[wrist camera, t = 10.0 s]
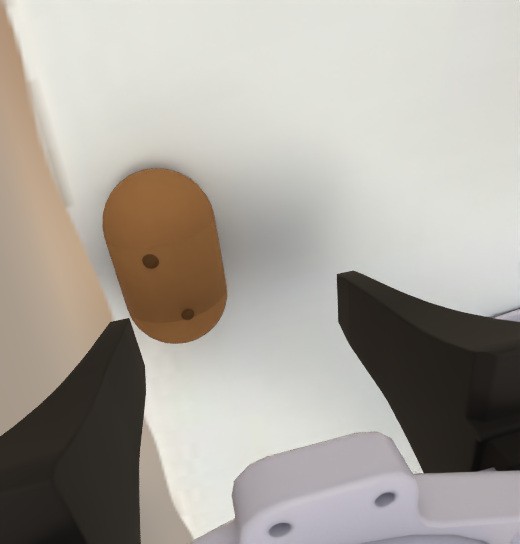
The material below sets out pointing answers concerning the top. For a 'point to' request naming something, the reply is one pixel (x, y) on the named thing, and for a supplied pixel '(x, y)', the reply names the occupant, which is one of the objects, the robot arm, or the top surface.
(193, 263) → the potato
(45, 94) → the top surface
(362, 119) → the top surface
